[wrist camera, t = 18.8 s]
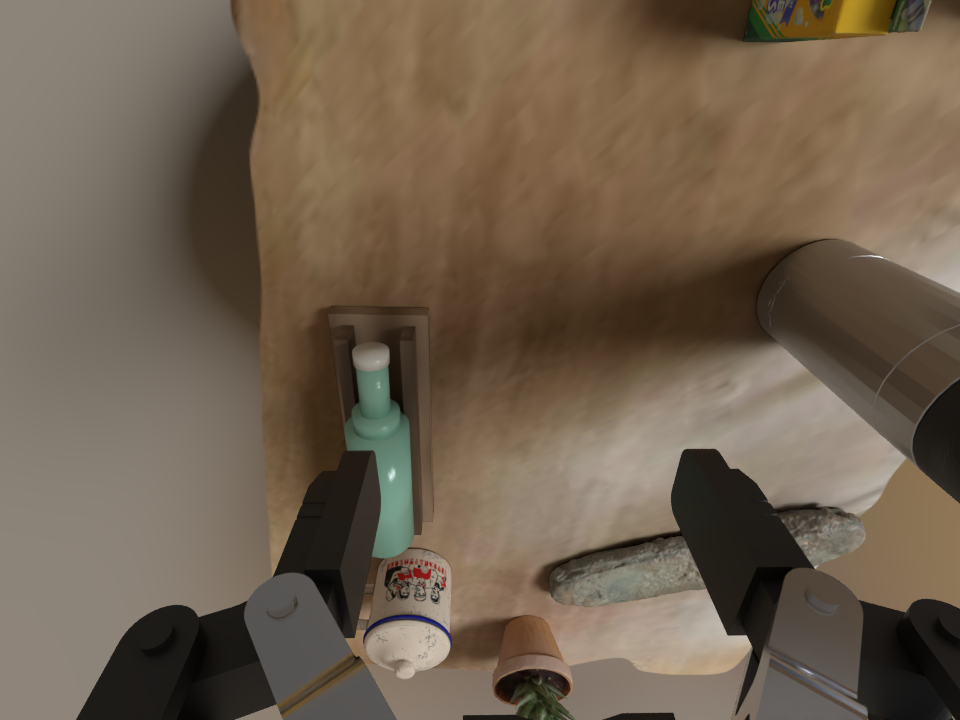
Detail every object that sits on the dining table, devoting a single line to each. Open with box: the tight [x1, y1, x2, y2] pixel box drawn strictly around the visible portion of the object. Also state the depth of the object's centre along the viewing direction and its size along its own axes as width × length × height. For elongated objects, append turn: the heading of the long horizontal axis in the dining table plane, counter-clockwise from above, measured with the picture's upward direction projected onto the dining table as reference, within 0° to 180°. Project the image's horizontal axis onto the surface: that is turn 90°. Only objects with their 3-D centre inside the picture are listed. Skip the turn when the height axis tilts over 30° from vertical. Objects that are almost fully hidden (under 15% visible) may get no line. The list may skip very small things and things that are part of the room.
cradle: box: [328, 306, 434, 535], centre depth 46 cm, size 8×24×4 cm, turn 178°
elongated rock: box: [549, 507, 866, 607], centre depth 57 cm, size 35×5×10 cm
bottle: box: [344, 342, 414, 558], centre depth 42 cm, size 5×5×20 cm
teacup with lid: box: [356, 549, 452, 679], centre depth 54 cm, size 12×9×12 cm
